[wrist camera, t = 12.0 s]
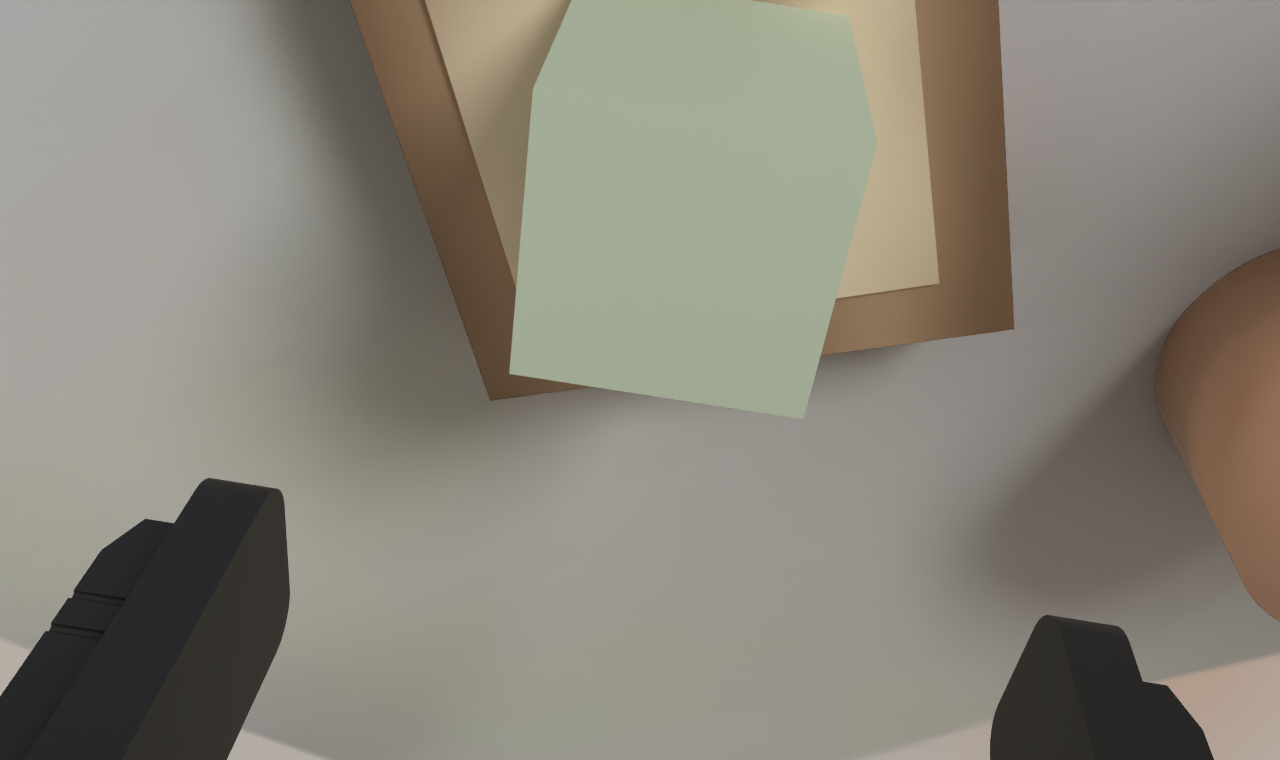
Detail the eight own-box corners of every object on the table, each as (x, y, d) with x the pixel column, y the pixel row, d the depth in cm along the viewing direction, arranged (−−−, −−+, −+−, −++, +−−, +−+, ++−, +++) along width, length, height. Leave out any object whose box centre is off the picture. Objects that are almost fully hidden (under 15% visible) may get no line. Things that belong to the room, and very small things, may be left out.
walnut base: (957, -307, 21) (985, -293, 19) (990, 262, 28) (1015, 332, 25) (350, -163, 23) (300, -132, 21) (512, 333, 30) (488, 404, 27)
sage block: (848, 15, 22) (877, 143, 17) (793, 250, 24) (803, 419, 19) (583, -27, 22) (533, 89, 17) (558, 214, 24) (509, 374, 19)
